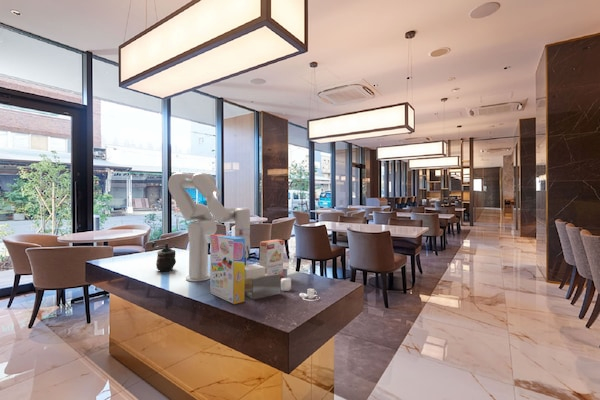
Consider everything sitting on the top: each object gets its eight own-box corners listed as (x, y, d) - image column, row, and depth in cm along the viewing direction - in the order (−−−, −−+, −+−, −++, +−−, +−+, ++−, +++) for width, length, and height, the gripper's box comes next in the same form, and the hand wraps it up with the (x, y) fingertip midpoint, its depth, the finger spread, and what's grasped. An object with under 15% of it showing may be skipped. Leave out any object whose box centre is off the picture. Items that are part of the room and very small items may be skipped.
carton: (237, 274, 145) (237, 266, 145) (255, 271, 152) (256, 263, 152) (246, 278, 138) (246, 270, 138) (264, 275, 144) (265, 267, 144)
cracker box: (267, 282, 156) (267, 242, 156) (258, 280, 160) (259, 241, 160) (283, 276, 168) (284, 239, 168) (275, 274, 171) (276, 238, 171)
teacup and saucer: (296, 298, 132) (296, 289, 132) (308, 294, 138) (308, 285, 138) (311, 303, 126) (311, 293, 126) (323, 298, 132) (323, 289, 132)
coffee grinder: (145, 272, 173) (145, 242, 173) (165, 267, 187) (165, 238, 187) (162, 275, 168) (162, 243, 168) (181, 269, 182) (181, 240, 182)
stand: (233, 288, 145) (233, 269, 145) (258, 283, 153) (258, 266, 153) (253, 299, 129) (253, 278, 129) (280, 293, 137) (280, 274, 137)
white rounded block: (278, 289, 145) (278, 278, 145) (287, 287, 148) (287, 277, 148) (284, 291, 141) (284, 281, 141) (293, 289, 144) (293, 279, 144)
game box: (245, 302, 126) (245, 237, 126) (233, 305, 122) (234, 239, 122) (220, 290, 140) (220, 233, 140) (209, 293, 137) (210, 234, 137)
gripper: (229, 231, 156) (229, 266, 156) (242, 234, 145) (242, 271, 145) (242, 230, 161) (242, 264, 161) (256, 233, 149) (255, 269, 149)
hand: (242, 267), depth 153 cm, fingers closed
